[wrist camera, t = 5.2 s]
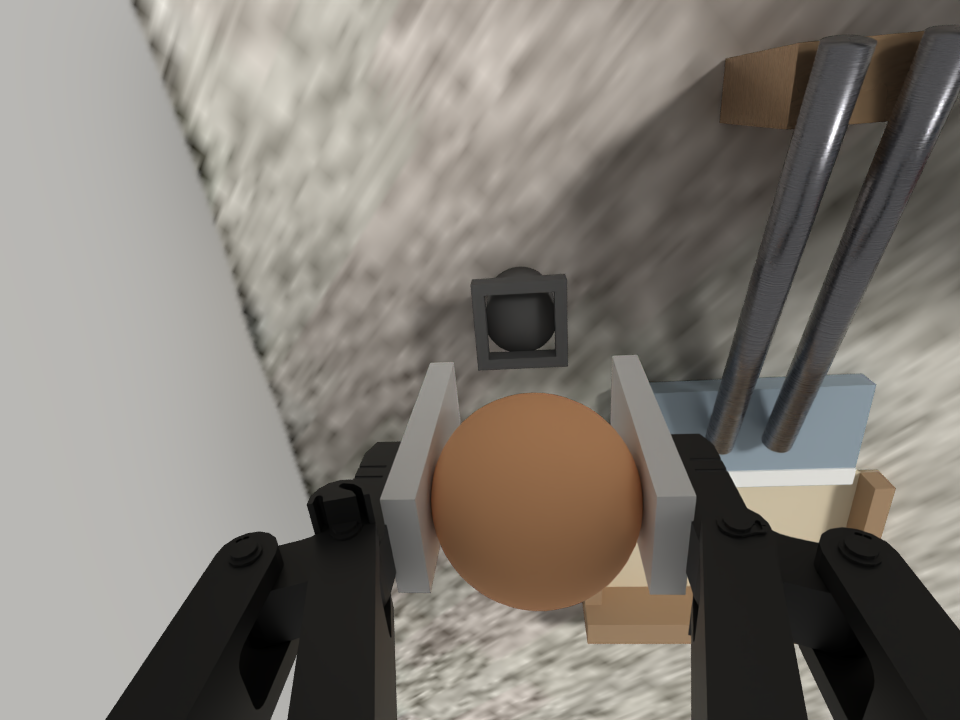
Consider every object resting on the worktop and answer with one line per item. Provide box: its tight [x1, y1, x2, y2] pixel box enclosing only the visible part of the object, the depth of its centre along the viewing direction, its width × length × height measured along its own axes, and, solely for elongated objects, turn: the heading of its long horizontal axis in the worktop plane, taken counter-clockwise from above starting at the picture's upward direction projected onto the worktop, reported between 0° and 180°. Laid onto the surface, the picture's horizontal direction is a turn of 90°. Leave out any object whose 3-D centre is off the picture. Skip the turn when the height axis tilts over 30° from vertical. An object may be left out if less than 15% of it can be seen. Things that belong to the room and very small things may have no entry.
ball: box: [431, 393, 643, 611], centre depth 13 cm, size 5×5×5 cm
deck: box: [649, 374, 876, 487], centre depth 29 cm, size 6×12×1 cm, turn 95°
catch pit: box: [582, 470, 896, 644], centre depth 31 cm, size 10×16×3 cm, turn 95°
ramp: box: [705, 25, 960, 455], centre depth 22 cm, size 18×4×8 cm, turn 5°
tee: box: [471, 267, 568, 370], centre depth 25 cm, size 4×4×4 cm
